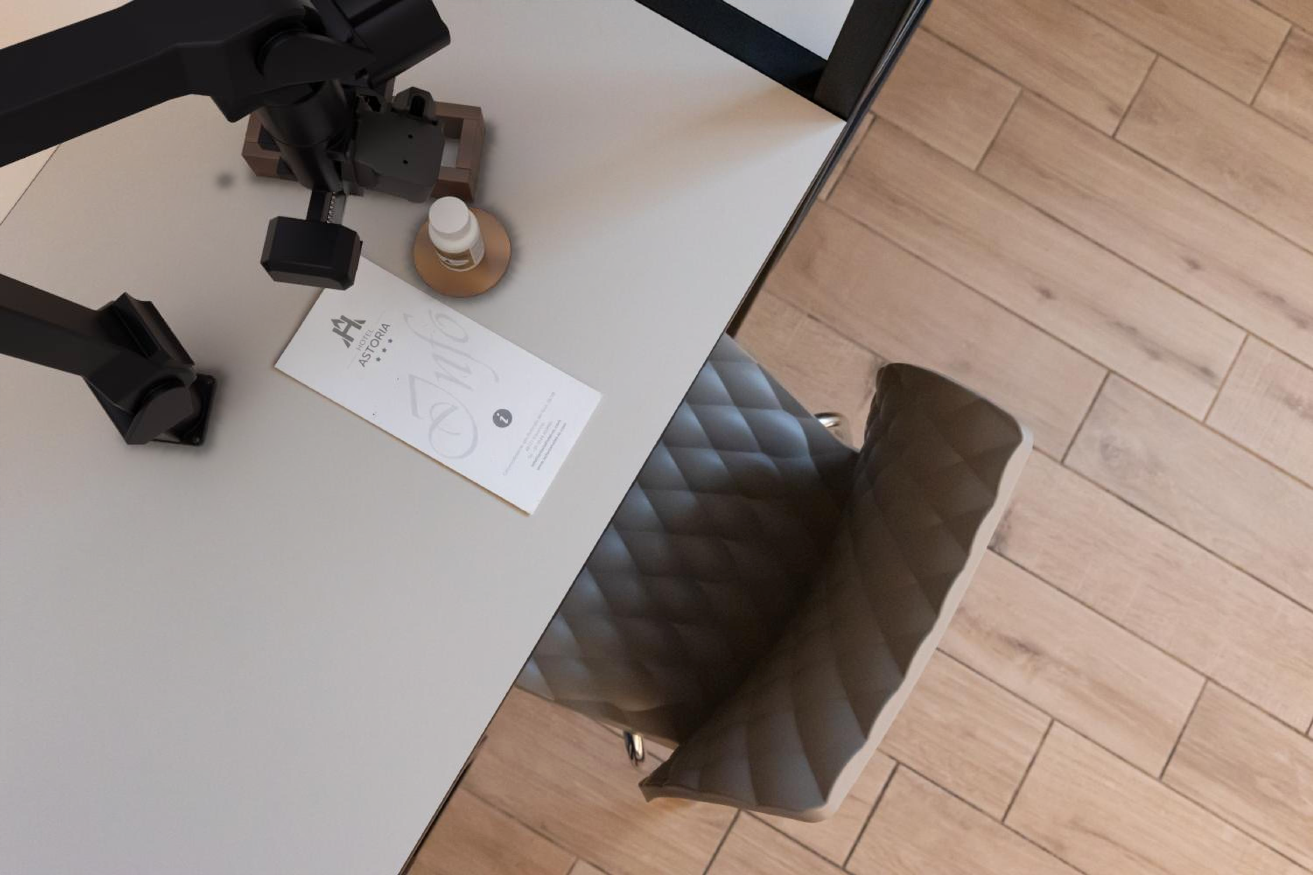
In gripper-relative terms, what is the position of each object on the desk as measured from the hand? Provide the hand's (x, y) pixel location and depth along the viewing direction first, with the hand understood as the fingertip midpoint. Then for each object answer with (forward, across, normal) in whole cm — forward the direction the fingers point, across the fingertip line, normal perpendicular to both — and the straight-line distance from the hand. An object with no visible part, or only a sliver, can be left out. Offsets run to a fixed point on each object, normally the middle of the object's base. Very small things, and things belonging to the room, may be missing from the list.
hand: (356, 214), depth 80 cm
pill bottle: (+11, +3, -7) cm, 13 cm away
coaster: (+11, +3, -7) cm, 14 cm away
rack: (+12, +12, +3) cm, 17 cm away
